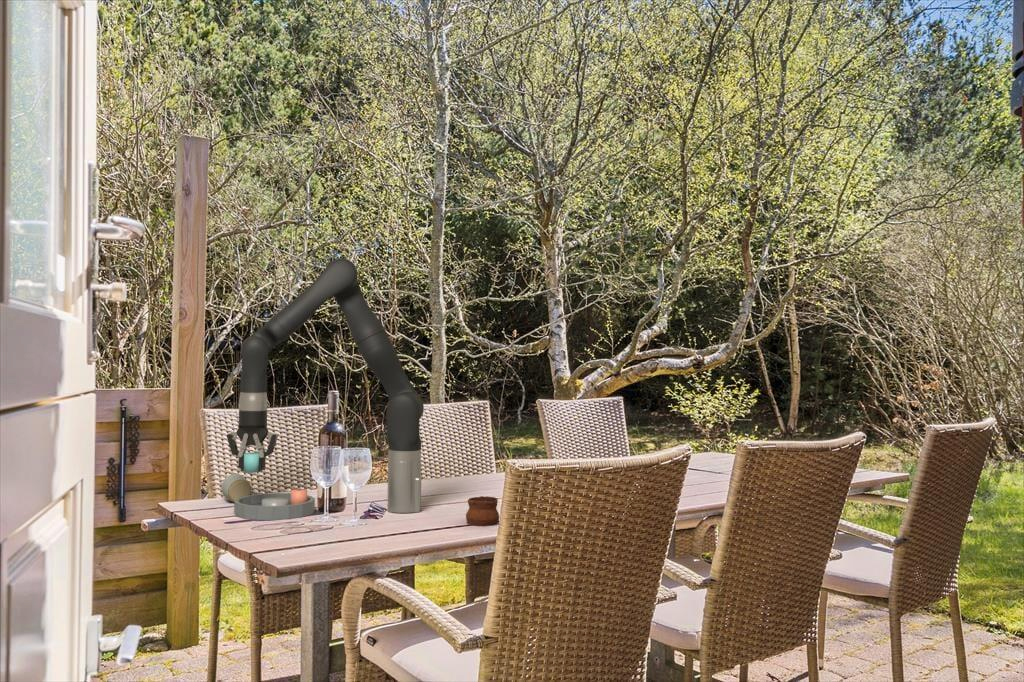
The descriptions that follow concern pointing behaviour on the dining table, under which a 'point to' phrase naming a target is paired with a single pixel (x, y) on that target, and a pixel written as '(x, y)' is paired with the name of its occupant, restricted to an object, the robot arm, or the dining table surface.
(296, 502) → the brick bead
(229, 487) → the ceramic mug
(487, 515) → the ceramic pot
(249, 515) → the groove tray
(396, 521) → the dining table surface
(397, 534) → the dining table surface
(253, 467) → the teal cylinder
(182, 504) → the dining table surface
